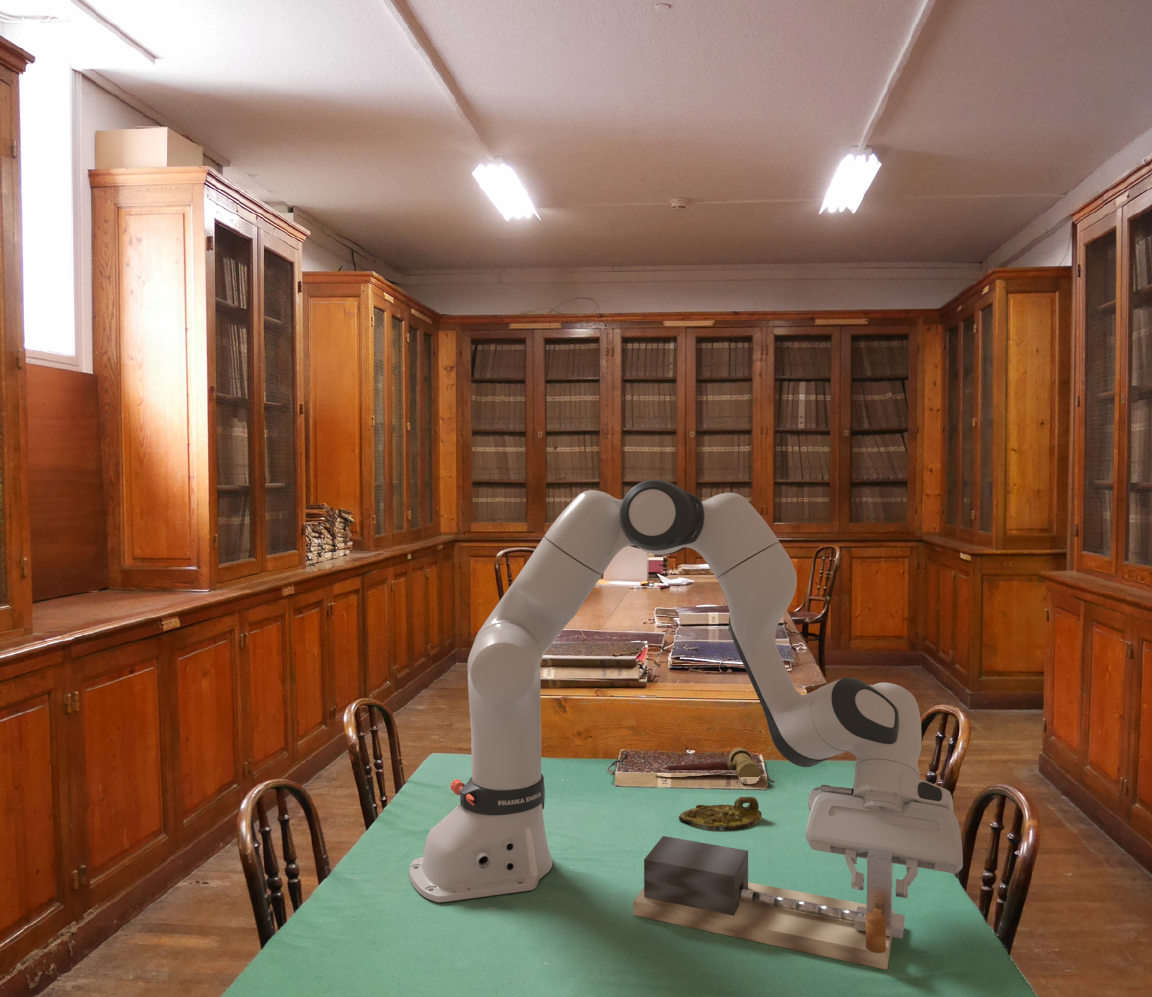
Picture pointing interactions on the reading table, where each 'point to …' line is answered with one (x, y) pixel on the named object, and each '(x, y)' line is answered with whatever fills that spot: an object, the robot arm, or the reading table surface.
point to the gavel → (727, 764)
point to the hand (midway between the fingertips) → (879, 891)
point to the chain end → (876, 898)
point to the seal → (724, 815)
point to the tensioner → (749, 905)
